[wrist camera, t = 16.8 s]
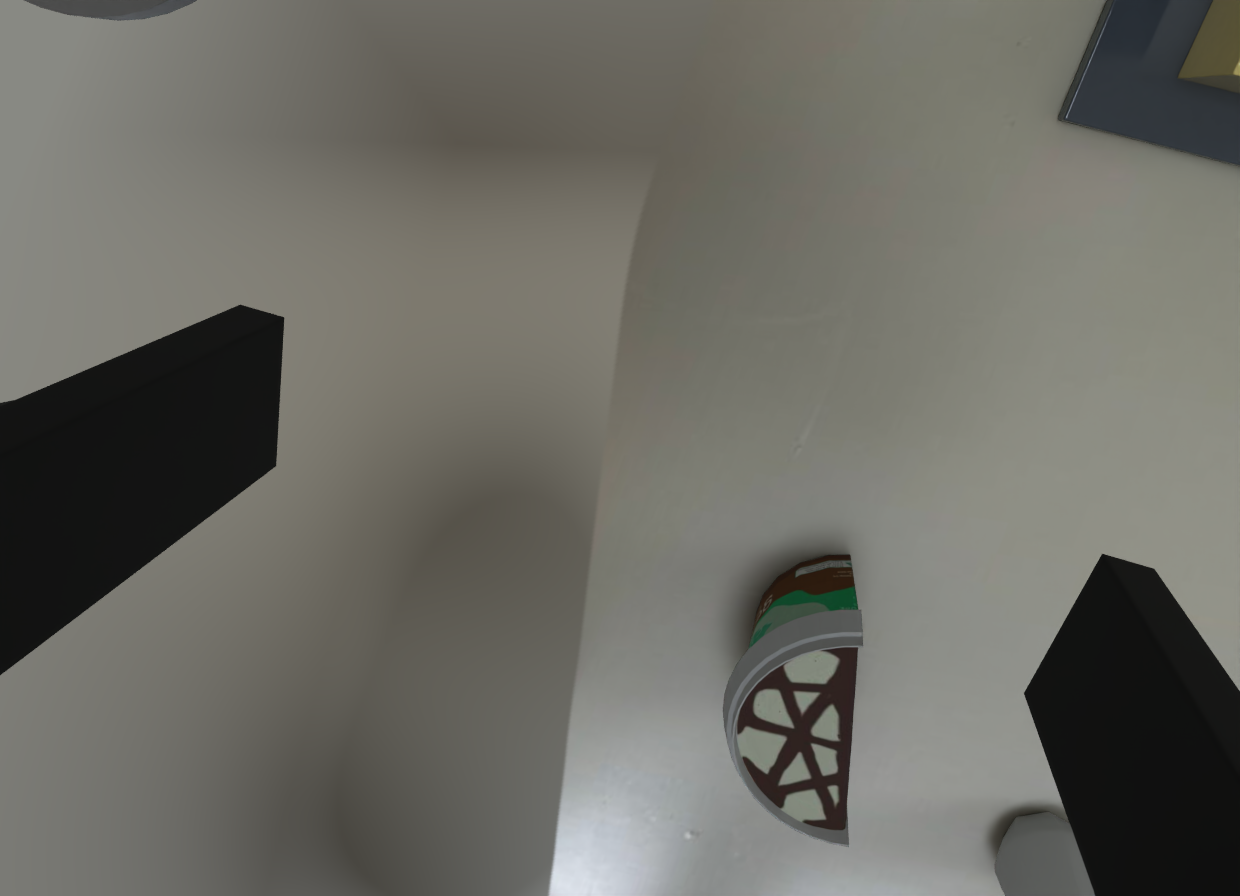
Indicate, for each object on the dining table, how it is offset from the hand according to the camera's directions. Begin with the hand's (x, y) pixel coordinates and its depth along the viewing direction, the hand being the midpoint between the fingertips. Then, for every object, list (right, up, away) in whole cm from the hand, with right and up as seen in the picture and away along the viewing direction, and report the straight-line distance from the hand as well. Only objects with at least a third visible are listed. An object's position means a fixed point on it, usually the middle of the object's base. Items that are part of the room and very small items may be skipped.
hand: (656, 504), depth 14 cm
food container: (+9, -9, +35) cm, 37 cm away
